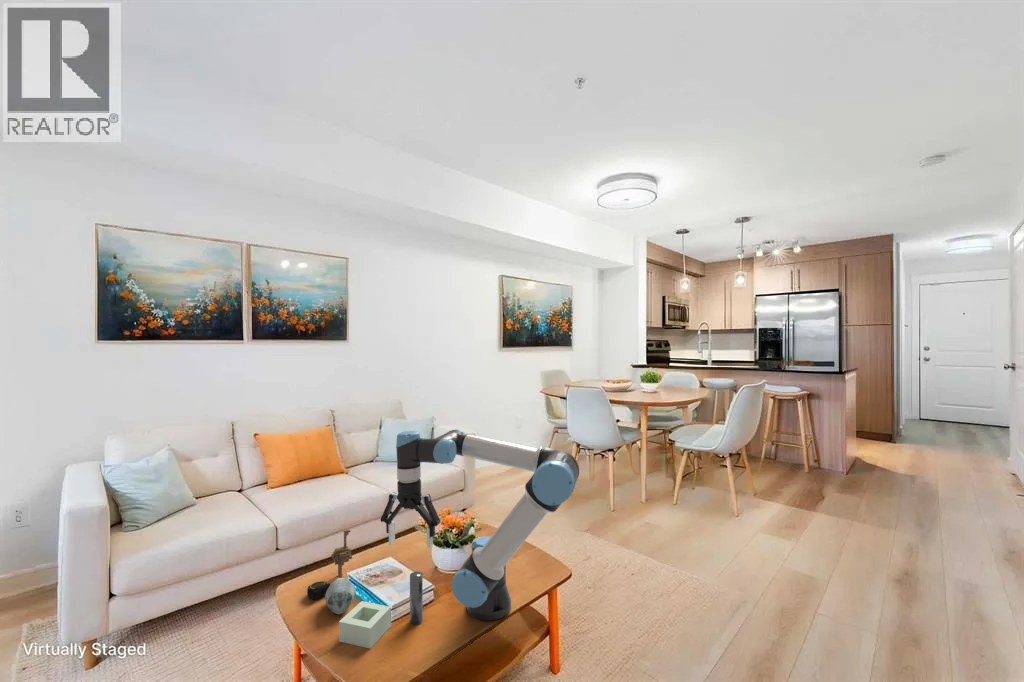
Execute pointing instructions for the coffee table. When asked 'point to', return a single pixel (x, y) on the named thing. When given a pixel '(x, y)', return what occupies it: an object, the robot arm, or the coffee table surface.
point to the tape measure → (317, 589)
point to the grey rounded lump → (340, 595)
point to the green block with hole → (365, 624)
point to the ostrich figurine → (342, 555)
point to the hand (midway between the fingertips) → (410, 544)
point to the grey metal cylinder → (416, 598)
